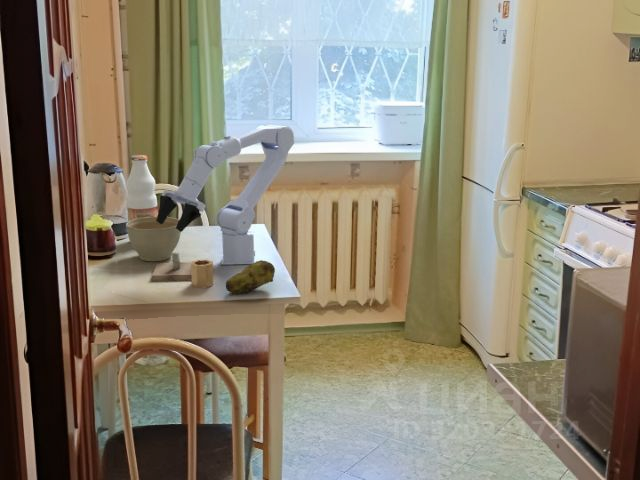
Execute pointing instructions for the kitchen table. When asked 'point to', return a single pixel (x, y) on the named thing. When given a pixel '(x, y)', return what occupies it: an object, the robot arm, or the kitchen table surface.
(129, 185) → the white milk bottle
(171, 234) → the planter bowl
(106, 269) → the kitchen table surface
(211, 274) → the octagonal wooden tube
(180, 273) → the pin block
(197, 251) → the kitchen table surface
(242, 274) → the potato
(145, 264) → the kitchen table surface
